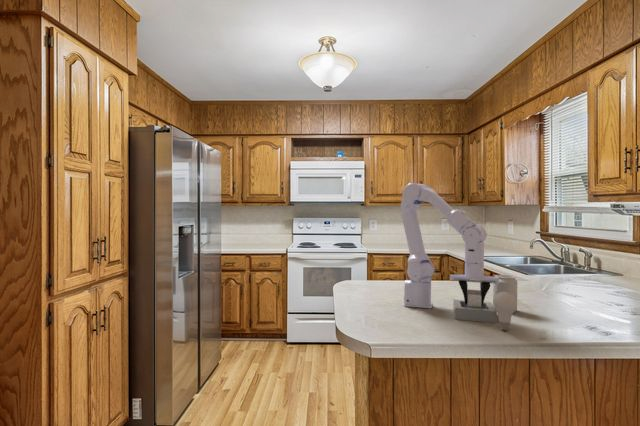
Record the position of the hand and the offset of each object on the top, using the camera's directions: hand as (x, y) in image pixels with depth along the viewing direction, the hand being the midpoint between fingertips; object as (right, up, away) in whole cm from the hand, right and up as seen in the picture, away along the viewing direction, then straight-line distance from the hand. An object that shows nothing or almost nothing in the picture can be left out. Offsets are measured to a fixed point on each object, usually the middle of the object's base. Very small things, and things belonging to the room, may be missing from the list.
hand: (473, 304), depth 119 cm
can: (+14, -4, +7) cm, 16 cm away
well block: (0, -4, 0) cm, 4 cm away
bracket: (0, -2, 0) cm, 2 cm away
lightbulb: (+3, -4, -15) cm, 15 cm away
